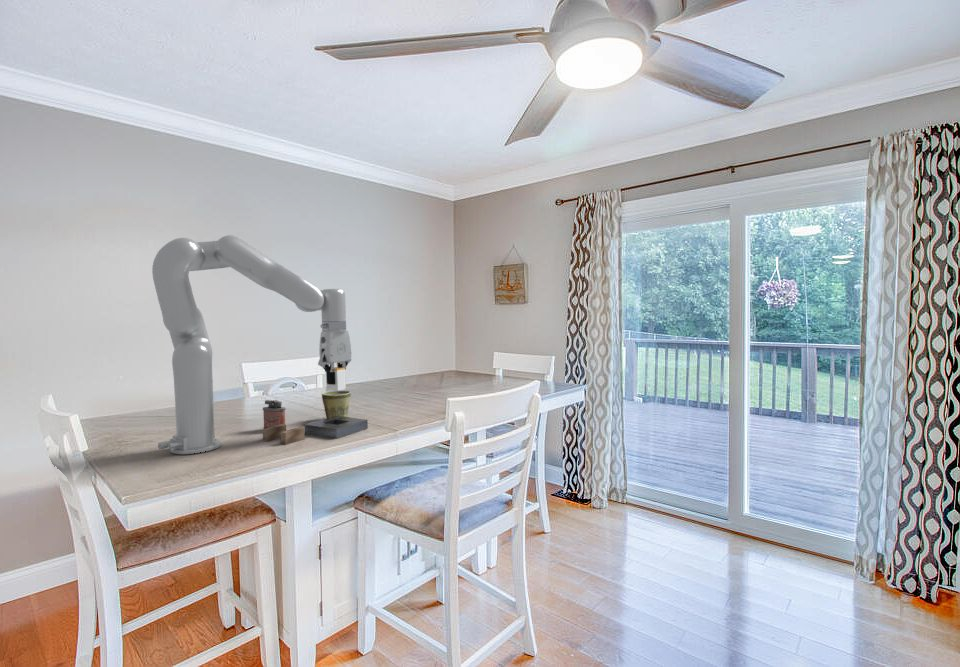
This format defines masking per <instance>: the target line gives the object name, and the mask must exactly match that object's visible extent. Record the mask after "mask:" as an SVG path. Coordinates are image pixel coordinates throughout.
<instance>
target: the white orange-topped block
mask: <svg viewBox="0 0 960 667" xmlns="http://www.w3.org/2000/svg"><path fill="white" fill-rule="evenodd" d="M333 372H335V384H334V385H332V384H327V372H325V385H326V390H327V391H340V390H342V391H345V390H347V388H346V387H347V385H346V384H347V383H346V382H347V381H346V370H345V368H338V367H337V366H336V367H335V366H334V371H333Z"/></svg>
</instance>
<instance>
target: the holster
mask: <svg viewBox="0 0 960 667" xmlns="http://www.w3.org/2000/svg"><path fill="white" fill-rule="evenodd" d="M276 438H277V439H280V441H281V442H280V444H281V443H282V444H281V445H285V444H286V445H289V443H290V444H292V443H295V442H299V441H302V440H305V427H303V426H298V427H294V428H291V429H287V424H285V425H284V424H281V425H277V426H273V427H269V428H265V429H262V441H263V440H264V441H265V442H270V441H272V440H277V439H276ZM269 440H270V441H269Z"/></svg>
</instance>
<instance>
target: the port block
mask: <svg viewBox="0 0 960 667" xmlns="http://www.w3.org/2000/svg"><path fill="white" fill-rule="evenodd" d="M368 421H369V420H368V419H363V418H357V417H349V416H347V417H343V416H334V417H330V418H324V419H323V418H322V419H320V420H319V419H318V420H315V421H312V422H309V423H308V422H307V423H304V427H303V428H304V431H305V434H306V435H310V436H317V437H324V438H330V439H335V438H336V440H337V439H340V437H341V438H343V436H344V437H346V436H350V435H353V434H355V433H359V432H361V431H364V430H368V428H369V426H368Z"/></svg>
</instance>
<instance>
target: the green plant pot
mask: <svg viewBox="0 0 960 667" xmlns="http://www.w3.org/2000/svg"><path fill="white" fill-rule="evenodd" d="M351 393H352V392H351V391H350V390H339V391H334V390H327V391H325V392H322V393H321V398H322V403H323V408H324V412H325V417H326V418H330V417H334V416H343V417H348V414H349V407H350V400H351V395H352V394H351ZM326 418H325V419H326Z"/></svg>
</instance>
